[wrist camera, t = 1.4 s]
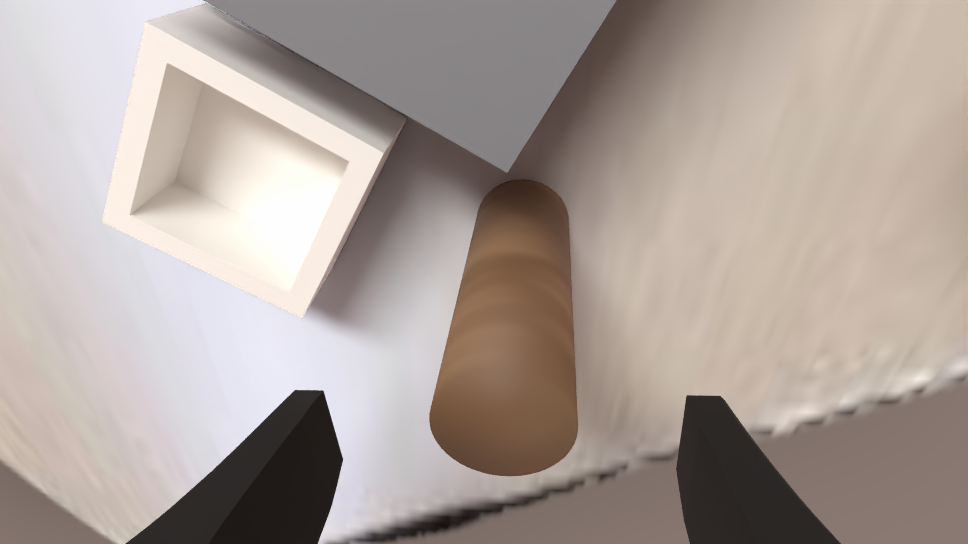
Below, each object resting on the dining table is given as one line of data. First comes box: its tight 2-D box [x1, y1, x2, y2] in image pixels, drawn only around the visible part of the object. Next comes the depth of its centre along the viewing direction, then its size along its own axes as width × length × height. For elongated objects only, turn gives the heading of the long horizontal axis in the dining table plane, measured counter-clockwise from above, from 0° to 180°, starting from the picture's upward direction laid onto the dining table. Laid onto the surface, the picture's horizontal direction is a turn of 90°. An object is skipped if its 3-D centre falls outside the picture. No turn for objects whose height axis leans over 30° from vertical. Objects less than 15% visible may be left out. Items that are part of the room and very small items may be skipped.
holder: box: [102, 3, 407, 318], centre depth 18 cm, size 6×6×3 cm
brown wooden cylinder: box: [430, 180, 578, 476], centre depth 16 cm, size 3×3×9 cm
